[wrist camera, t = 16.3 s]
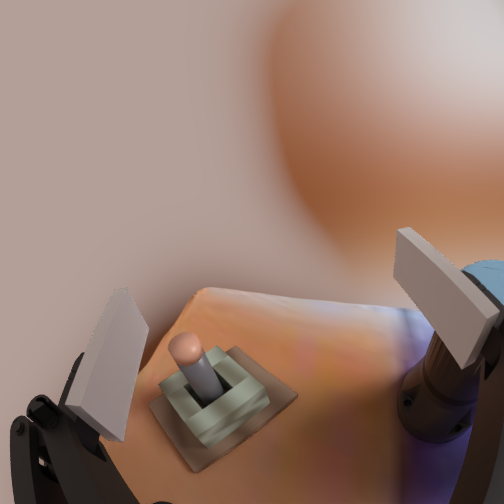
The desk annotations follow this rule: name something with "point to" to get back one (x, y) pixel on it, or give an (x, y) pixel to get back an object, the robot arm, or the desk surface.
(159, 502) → the blender logo cutout
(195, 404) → the socket
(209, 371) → the peg
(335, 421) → the desk surface
